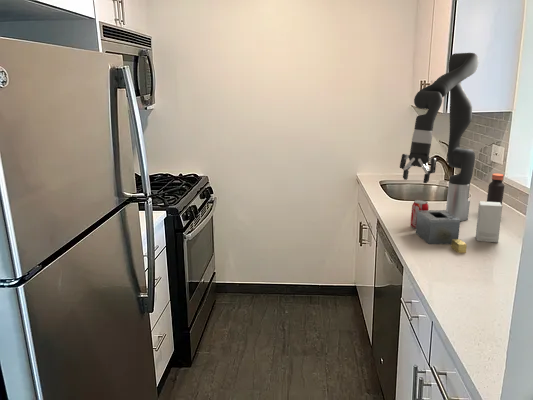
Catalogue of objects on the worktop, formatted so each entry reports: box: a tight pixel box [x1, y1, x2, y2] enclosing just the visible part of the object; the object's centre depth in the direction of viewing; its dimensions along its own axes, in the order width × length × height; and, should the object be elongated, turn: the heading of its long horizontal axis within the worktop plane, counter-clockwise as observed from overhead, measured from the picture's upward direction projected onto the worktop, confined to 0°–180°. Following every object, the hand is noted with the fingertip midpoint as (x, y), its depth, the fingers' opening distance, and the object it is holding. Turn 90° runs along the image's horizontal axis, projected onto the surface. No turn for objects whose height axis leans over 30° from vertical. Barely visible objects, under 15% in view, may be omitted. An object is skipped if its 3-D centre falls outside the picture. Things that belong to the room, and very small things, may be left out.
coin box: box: [415, 209, 461, 245], centre depth 191 cm, size 12×14×10 cm
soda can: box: [410, 199, 430, 230], centre depth 204 cm, size 7×7×12 cm
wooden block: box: [450, 238, 468, 254], centre depth 179 cm, size 3×6×4 cm, turn 4°
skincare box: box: [475, 200, 503, 243], centre depth 189 cm, size 8×7×16 cm
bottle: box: [486, 173, 505, 206], centre depth 223 cm, size 7×7×20 cm
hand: (415, 181), depth 189 cm, fingers open, 8 cm apart
